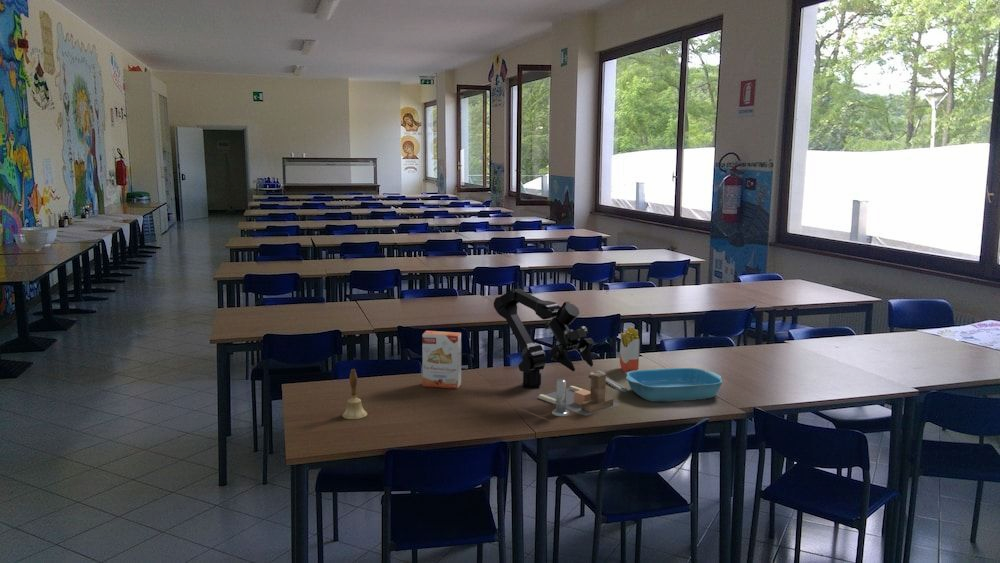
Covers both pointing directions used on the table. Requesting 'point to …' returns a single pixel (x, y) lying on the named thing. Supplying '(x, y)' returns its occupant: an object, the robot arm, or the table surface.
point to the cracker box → (441, 359)
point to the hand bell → (354, 401)
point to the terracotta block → (581, 396)
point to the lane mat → (570, 401)
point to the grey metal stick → (561, 399)
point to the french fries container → (629, 350)
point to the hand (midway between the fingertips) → (583, 368)
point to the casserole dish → (674, 384)
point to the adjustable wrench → (612, 382)
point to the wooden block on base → (597, 394)
